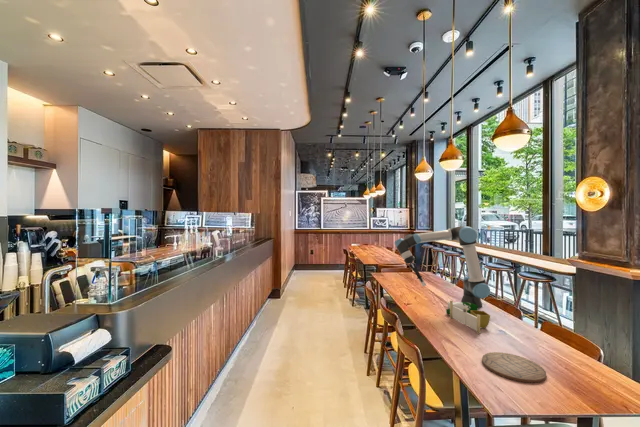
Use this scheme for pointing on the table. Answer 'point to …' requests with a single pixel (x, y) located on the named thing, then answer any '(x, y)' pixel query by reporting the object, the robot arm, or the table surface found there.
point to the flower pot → (482, 318)
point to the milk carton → (463, 306)
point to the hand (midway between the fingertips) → (424, 285)
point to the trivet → (514, 367)
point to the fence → (468, 319)
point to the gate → (459, 315)
